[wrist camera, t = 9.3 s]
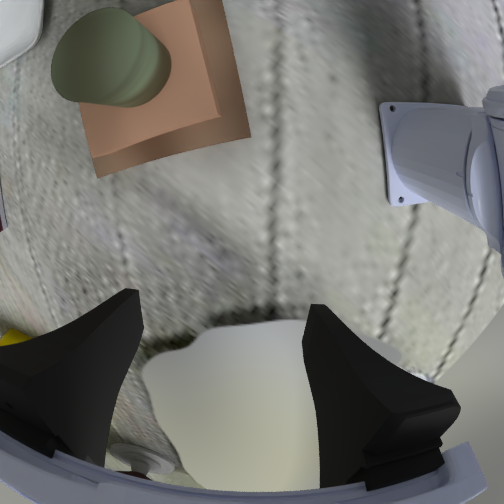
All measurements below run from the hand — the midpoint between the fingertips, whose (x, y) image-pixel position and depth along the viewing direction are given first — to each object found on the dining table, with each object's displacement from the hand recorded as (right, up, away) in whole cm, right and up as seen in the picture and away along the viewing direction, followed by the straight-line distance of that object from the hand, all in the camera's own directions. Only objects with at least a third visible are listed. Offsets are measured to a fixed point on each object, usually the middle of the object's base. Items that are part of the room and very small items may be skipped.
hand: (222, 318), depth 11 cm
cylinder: (-5, +13, +1) cm, 14 cm away
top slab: (-5, +14, +3) cm, 15 cm away
